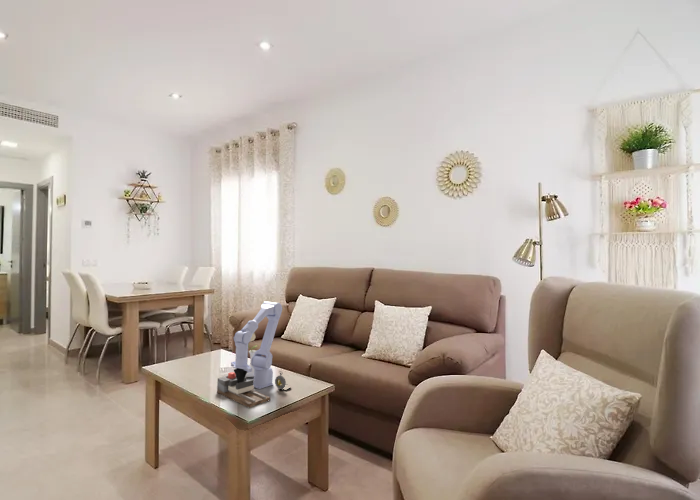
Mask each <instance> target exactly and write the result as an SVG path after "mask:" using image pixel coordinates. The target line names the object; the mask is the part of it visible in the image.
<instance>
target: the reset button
mask: <svg viewBox="0 0 700 500" xmlns="http://www.w3.org/2000/svg"><path fill="white" fill-rule="evenodd" d="M227 376H228V378H229V379H233V378H235V377H236V374H235V372H234V371H231V372H228V373H227Z"/></svg>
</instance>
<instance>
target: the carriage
mask: <svg viewBox="0 0 700 500" xmlns="http://www.w3.org/2000/svg"><path fill="white" fill-rule="evenodd" d="M253 383H254V379H252V378H251V379H248V377H246V376H245V378H244V381H243V382H240V383H238V382H237V379H234V380H230V381H229V386H228V390H230V391H232V392H234V393H236V394H240V393H243V392H247V391H250V390H254V389H255V387H254V385H253Z"/></svg>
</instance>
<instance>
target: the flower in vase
mask: <svg viewBox="0 0 700 500" xmlns="http://www.w3.org/2000/svg"><path fill="white" fill-rule="evenodd" d="M256 337H257V336H256V333H255V332H254V333H253V334H252V337H251V341H250V342H249V343H251V342H253V341H255V339H256ZM249 343H248V349H250V350H248V355H249V356H250V358H249V359H250V362H249V364H248V365H249V366H250V367H251V368H252V372H249V373H248V372H247V374H246V376H245V377H247V378H254V368H253V366H252V365H251V359H252V357H253V356H254V354H255V351H257V350H255V349H256V348H257V347H258V344H257V345H253V346H252V347H250V344H249Z"/></svg>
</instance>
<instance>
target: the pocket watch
mask: <svg viewBox="0 0 700 500" xmlns="http://www.w3.org/2000/svg"><path fill="white" fill-rule="evenodd" d="M278 373H279V375H277V376H276V377H275V379H274V384H275V386H276V388H277V389H278V390H280V389H283V388H284V387H285V385H287V382H286V378H285V377H284V376H283V372H282V371H281V370H279V371H278ZM288 389H289V388H288ZM289 390H290V389H289Z"/></svg>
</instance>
